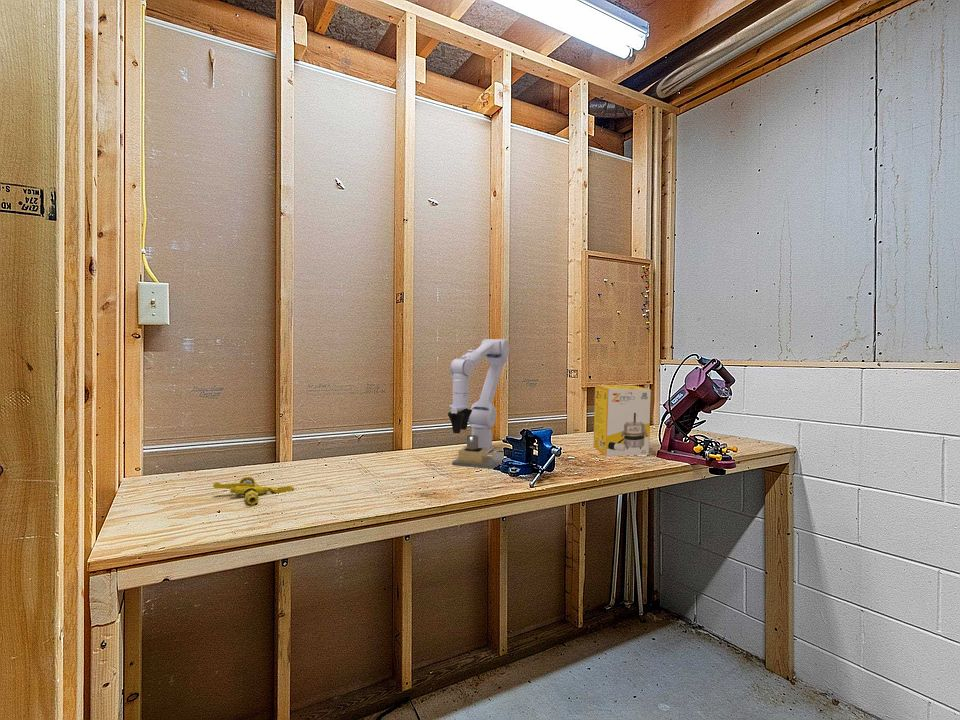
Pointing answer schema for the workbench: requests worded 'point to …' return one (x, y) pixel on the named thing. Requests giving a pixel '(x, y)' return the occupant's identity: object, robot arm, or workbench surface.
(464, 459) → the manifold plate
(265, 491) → the sprinkler
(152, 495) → the workbench surface
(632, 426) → the packaging box
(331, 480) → the workbench surface
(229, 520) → the workbench surface
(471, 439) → the dark grey cylinder
